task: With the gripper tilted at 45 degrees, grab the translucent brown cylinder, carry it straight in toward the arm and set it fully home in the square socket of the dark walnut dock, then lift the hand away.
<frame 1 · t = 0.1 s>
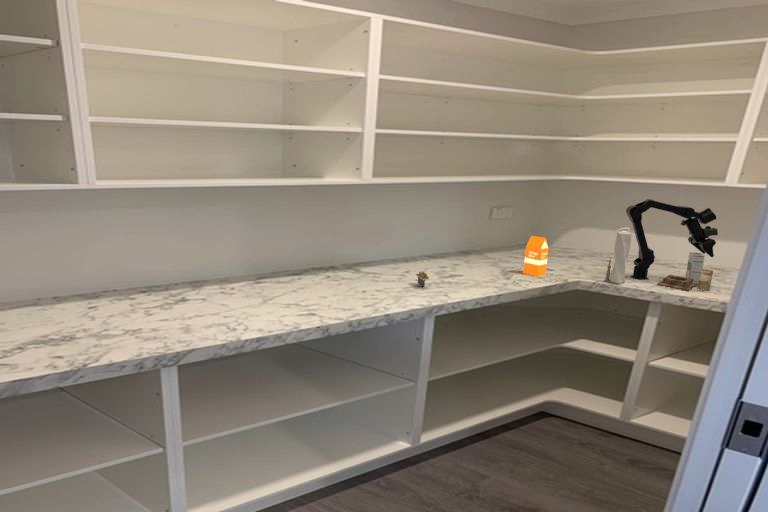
hand: (708, 255, 256), 15 cm above the worktop, tool tilted 35°, fingers open, 9 cm apart
syrup box: (692, 280, 264), on the worktop
walnut dock: (677, 285, 252), on the worktop
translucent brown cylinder: (703, 290, 244), on the worktop
skyscraper: (616, 282, 253), on the worktop
olive brown upright piece: (422, 287, 232), on the worktop
orange juice: (534, 274, 264), on the worktop
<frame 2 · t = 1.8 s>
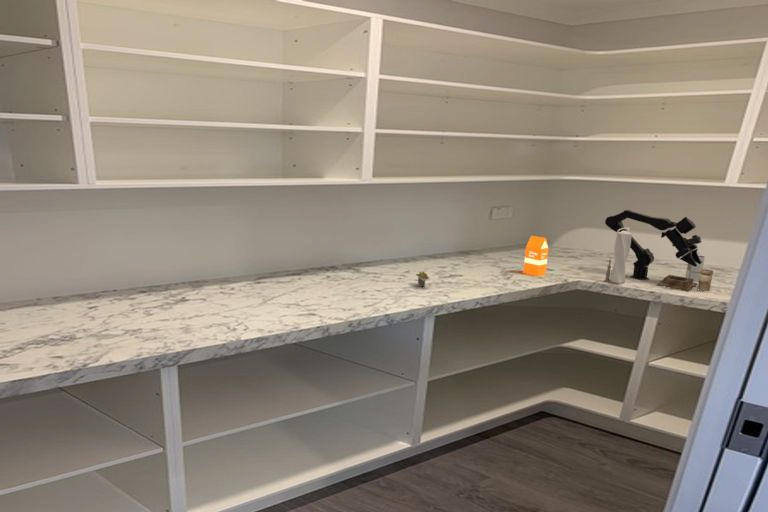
hand: (698, 264, 245), 12 cm above the worktop, tool tilted 45°, fingers open, 9 cm apart
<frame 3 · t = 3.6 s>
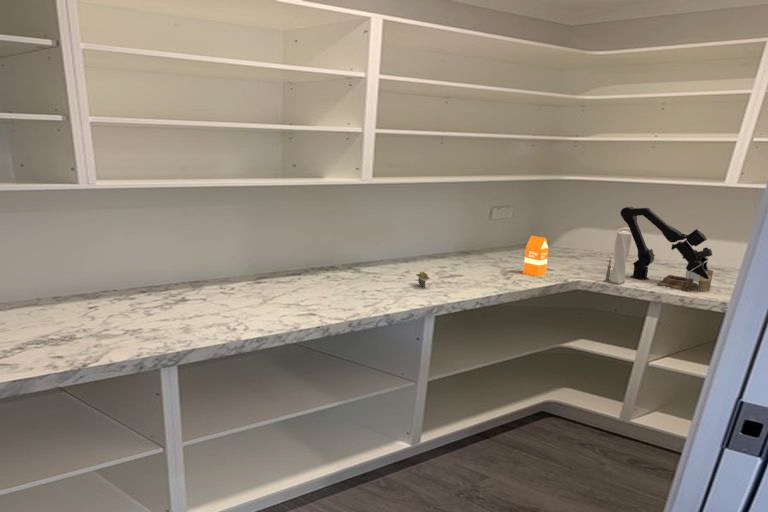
hand: (709, 277, 242), 7 cm above the worktop, tool tilted 45°, fingers closed on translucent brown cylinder, 5 cm apart
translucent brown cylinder: (703, 290, 244), on the worktop, touching gripper
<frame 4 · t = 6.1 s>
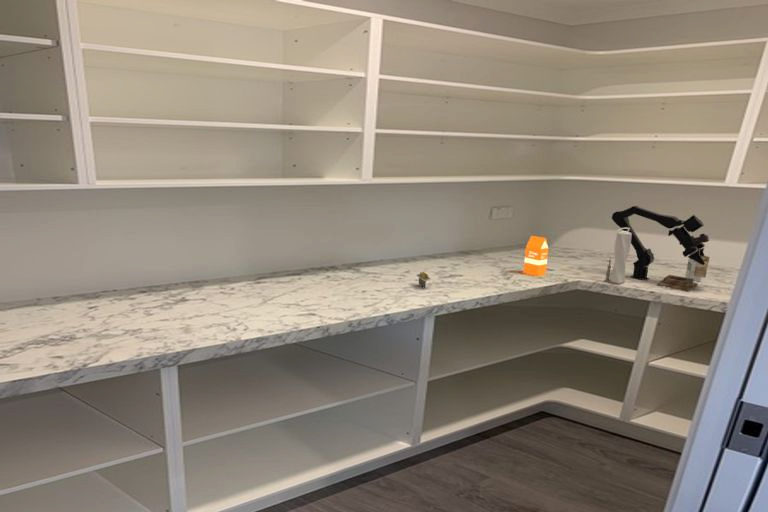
hand: (705, 263, 242), 13 cm above the worktop, tool tilted 45°, fingers closed on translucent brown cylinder, 5 cm apart
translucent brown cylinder: (699, 276, 245), point 7 cm above the worktop, touching gripper
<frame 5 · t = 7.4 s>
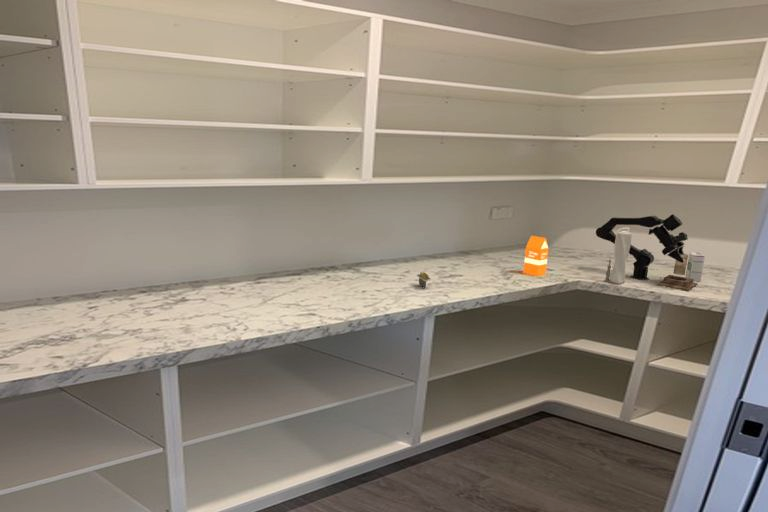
hand: (684, 261, 248), 13 cm above the worktop, tool tilted 45°, fingers closed on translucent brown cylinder, 5 cm apart
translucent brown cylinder: (679, 273, 251), point 6 cm above the worktop, touching gripper
when the fingers open (9 cm above the worktop, at t = 8.5 s): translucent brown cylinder drops 1 cm, resting on walnut dock.
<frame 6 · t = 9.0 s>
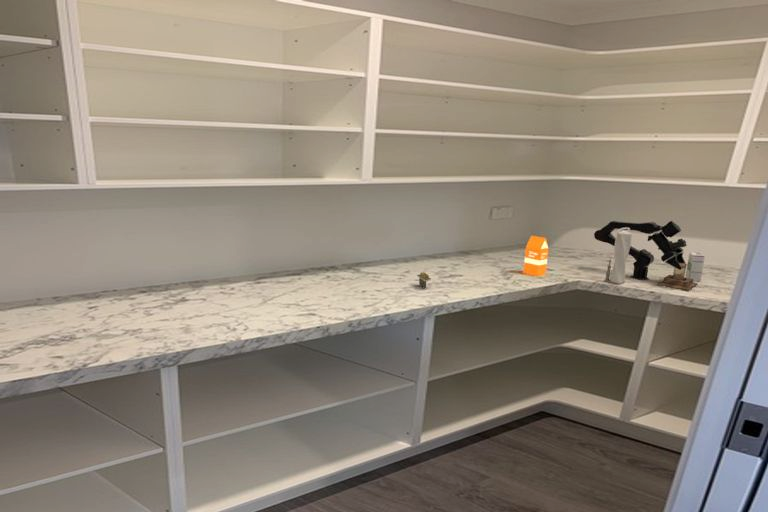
hand: (683, 268, 249), 9 cm above the worktop, tool tilted 45°, fingers open, 9 cm apart
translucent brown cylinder: (677, 282, 252), point 1 cm above the worktop, touching walnut dock
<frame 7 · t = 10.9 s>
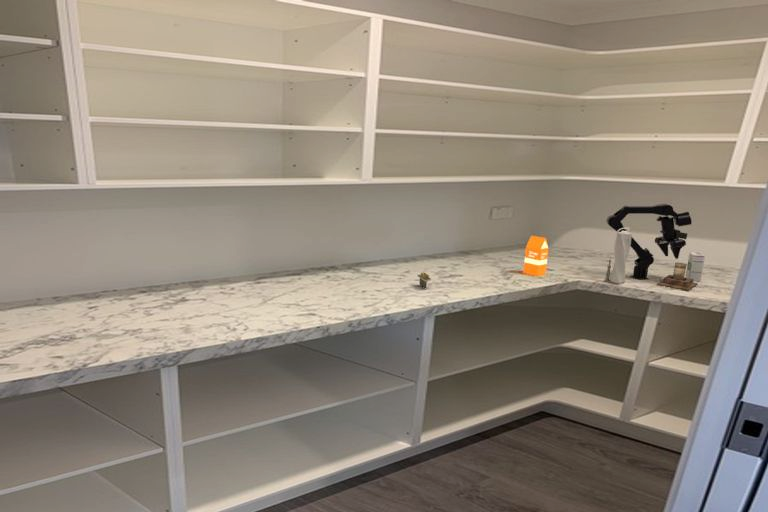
hand: (671, 257, 258), 13 cm above the worktop, tool pointing down, fingers open, 9 cm apart
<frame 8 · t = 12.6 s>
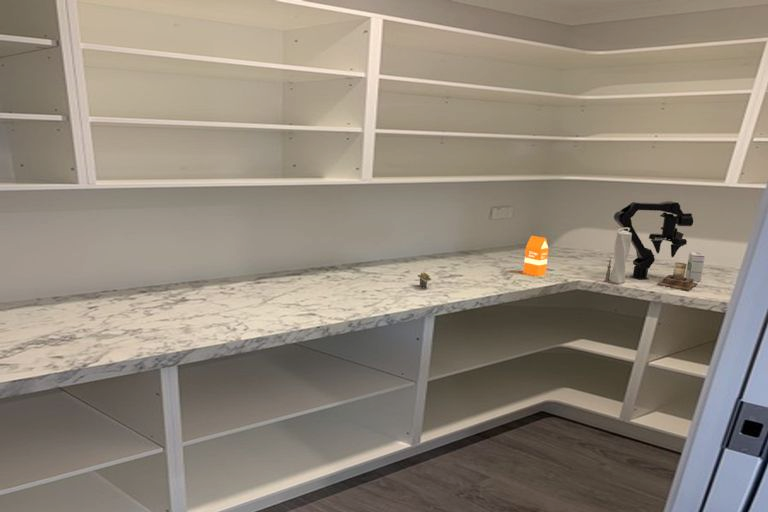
hand: (665, 255, 261), 13 cm above the worktop, tool pointing down, fingers open, 9 cm apart
at the end: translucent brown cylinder 0.1 cm off-centre on the walnut dock, point 1.2 cm above the walnut dock's base; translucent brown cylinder tilted 0°; the gripper is holding nothing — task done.
